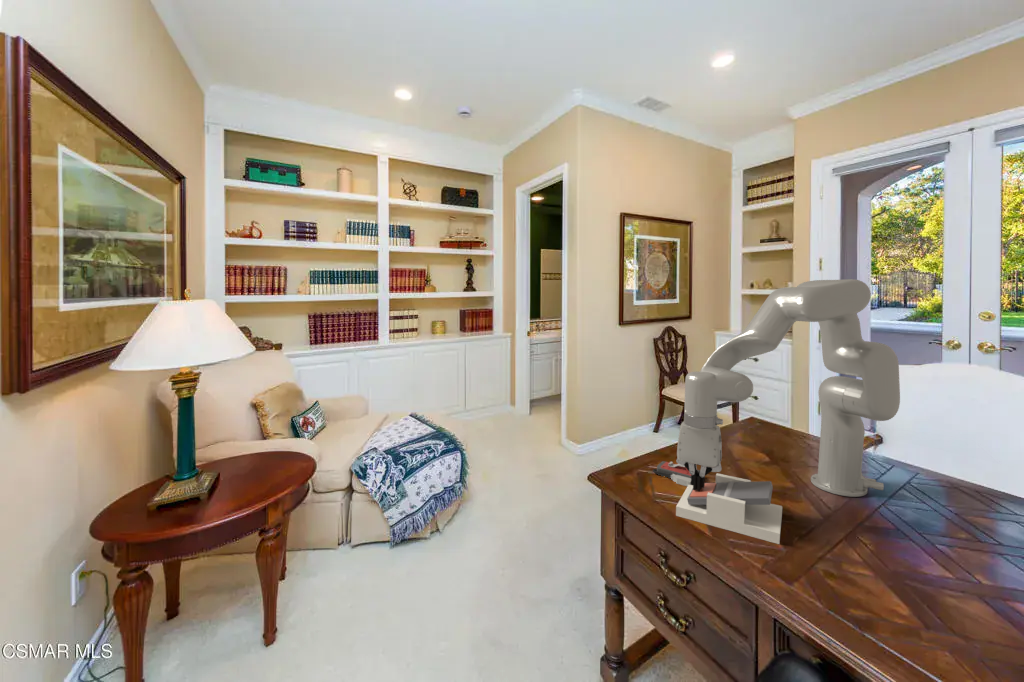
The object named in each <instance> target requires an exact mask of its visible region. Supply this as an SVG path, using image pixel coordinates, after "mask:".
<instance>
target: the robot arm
mask: <svg viewBox="0 0 1024 682" xmlns="http://www.w3.org/2000/svg"><path fill="white" fill-rule="evenodd" d="M871 294H872V293H871V290H870V287H869V285H867V284H866V283H865V282H863V281H862V280H859V279H854V278H853V279H851V278H849V279H848V278H847V279H846V278H845V279H819V280H817V279H815V280H807V281H804V282H802V283H800V284H798V285H797V286H796V287H795V286H792V287H791V286H789V287H780V288H777V289H775V290H773V291H772V292H771V293H769V295H768V296H767V298H766V299H765V301H764V302H763V303H762V305H761V306H760V308H759V309H758V310H757V311H756V313H755V314H754V316H753V317H752V318H751V320H750V322H749V323H748V324H747V326H746V327H745V329H744V330H743V331H741V332H740V333H738V334H737V335H735V336H733V337H731V339H729V340H727V341H726V342H725V343H723V344H722V345H720V346H719V347H718V348H716V349H715V350H714V351H713V352H712V353H711V354H710V356H709V357H708V358H707V359H706V361H705V363H704V364H703V366H702V367H701V369H700V370H699V371H691V372H688V373H687V374H686V376H685V379H684V380H685V381H684V412H683V413H684V414H683V421H681V423H680V428H679V432H678V439H677V446H676V447H677V449H676V457H677V458H676V460H675V461H676V464H681V465H684V466H685V467H686V468H687V469H688V470H689V472H690V474H691V485H693V490H697V491H699V492H700V490H701V488H704V485H705V483H706V482H705V480H706V478H705V476H707V475H708V474H710V473H720V472H721V471H722V469H723V467H722V464H721V462H722V457H723V453H722V452H723V451H722V449H723V448H722V447H723V446H722V444H723V443H722V434H721V428H720V426H721V425H723V423H724V419H723V418H719V417H718V413H717V412H718V402H727V403H728V402H729V403H740V402H745V400H748V399H749V398H750V397H751V395H752V394H753V392H754V384H753V381H752V380H751V378H750V377H749V376H747V375H745V374H743V373H741V372H738V371H733V370H732V369H733V368H734V367H735V366H736V365H738V363H740V362H742V361H744V360H747V359H749V358H753V357H756V356H760V355H764V354H767V353H770V352H773V351H774V350H776V349H777V348H778V346H779V345H780V343H781V342H782V341H783V339H784V338H785V337H786V335H787V333H788V332H789V331H790V329H791V328H792V327H793V325H794V324H795V322H805V323H806V322H807V323H815V322H816V323H818V325H819V330H820V339H821V352H822V353H821V354H822V362H823V366H824V367H825V369H826V370H828V371H831V372H833V373H836V374H839V375H836V376H830V377H826V378H825V379H824V380H823V381H822V382H821V383H820V385H819V387H818V400H819V405H820V406H819V407H820V414H821V415H820V416H821V417H820V419H821V420H820V436H819V450H818V465H817V468H818V469H817V473H814V474H812V475H811V477H810V481H811V483H812V484H813V486H815V487H816V488H818V489H820V490H822V491H824V492H828V493H831V494H834V495H837V496H838V495H839V496H843V497H853V498H856V497H857V498H858V497H864V496H866V495H867V494H868V489H869V488H870V489H874V490H879V491H884V487H885V486H884V485H885V484H884V482H879V481H877V479H875V478H874V479H873V478H868V477H866V476H864V475H863V472H862V469H863V468H862V467H863V457H864V456H863V455H864V444H865V443H864V442H865V433H866V432H865V425H864V423H863V419H862V418H865V419H868V420H872V421H879V422H885V421H889V420H892V419H893V418H894V417H895V416H896V415H897V413H898V411H899V409H900V404H901V389H900V387H901V386H900V367H899V358H898V355H897V354H896V352H895V351H894V349H893V348H892V347H890V346H889V345H887V344H885V343H881V342H877V341H876V342H875V341H867V340H864V339H863V337H862V329H861V323H860V318H859V316H858V315H857V314H858V313H860V312H862V311H863V310H864V309H865V308H867V306H868V305H869V303H870V300H871V298H872V297H871V296H872V295H871ZM840 374H841V376H840ZM842 375H846V376H842ZM849 376H850V377H849ZM854 377H856V378H854ZM859 378H860V379H859ZM718 425H720V426H718ZM697 466H700V469H699V470H700V472H699V473H698V471H697V470H698V468H697Z"/></svg>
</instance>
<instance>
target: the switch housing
mask: <svg viewBox="0 0 1024 682" xmlns="http://www.w3.org/2000/svg"><path fill="white" fill-rule="evenodd" d="M730 481H732V482H752V480H750V479H746V478H741V477H736V476H733V475H727V474H722V473H719V472H716V474H715V483H725V482H730ZM692 489H693V485H688V486H686V489H685V490H684V492H683V494H682V495H681V497H680V499H679V500H678V502H677V504H676V506H675V516H676V517H680V518H683V519H687V520H690V521H694V522H696V523H697V522H698V523H701V524H703V525H704V524H705V525H708V526H712V527H715V528H719V529H723V530H726V531H730V532H734V533H738V534H741V535H744V536H748V537H752V538H755V539H758V540H762V541H766V542H770V543H773V544H777V545H780V541H781V529H782V518H783V506H782V505H779V504H775V503H770V505H745V501H743V500H739V499H734V498H730V497H726V496H722V495H717V494H713V493H709V492H708V494H707V505H689V504H688V500H687V498H688V496H689V494H690V493H691V491H692Z"/></svg>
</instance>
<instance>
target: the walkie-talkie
mask: <svg viewBox="0 0 1024 682" xmlns="http://www.w3.org/2000/svg"><path fill="white" fill-rule="evenodd" d="M700 470H701V469H697V471H698V473H699V472H700ZM652 472H653V473H654V474H656V475H657V474H658V475H657V476H659V475H661V476H660V477H663V476H665V477H664V478H666V477H668V478H667V479H670V478H671V479H670V480H672V481H673V482H676V483H675V484H677V485H681V486H683V487H687V486H688V485H691V474H690V472H689V470H688V469H687V468H686V467H685V466H684V465H681V464H679V463H674V462H673V461H669V462H668V461H666V460H665V461H664V460H663V461H661V462H660V463H658V464H657V466H656V468H653V469H652Z"/></svg>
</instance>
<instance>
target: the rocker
mask: <svg viewBox="0 0 1024 682" xmlns="http://www.w3.org/2000/svg"><path fill="white" fill-rule="evenodd" d="M773 488H774V487H773V484H772V481H771V480H767V481H766V480H765V481H763V480H762V481H751V482H732V481H730V482H725V483H716V482H705V485H704V488H701V490H700V492H699V491H697V490H693V489H692V491H691V493H690V494H689V496H688V498H687V500H688V504H689V505H707V494H708V492H709V493H713V494H717V495H722V496H726V497H730V498H734V499H739V500H743V501H745V505H770V503H771V501H772V494H773ZM771 504H772V503H771Z"/></svg>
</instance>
